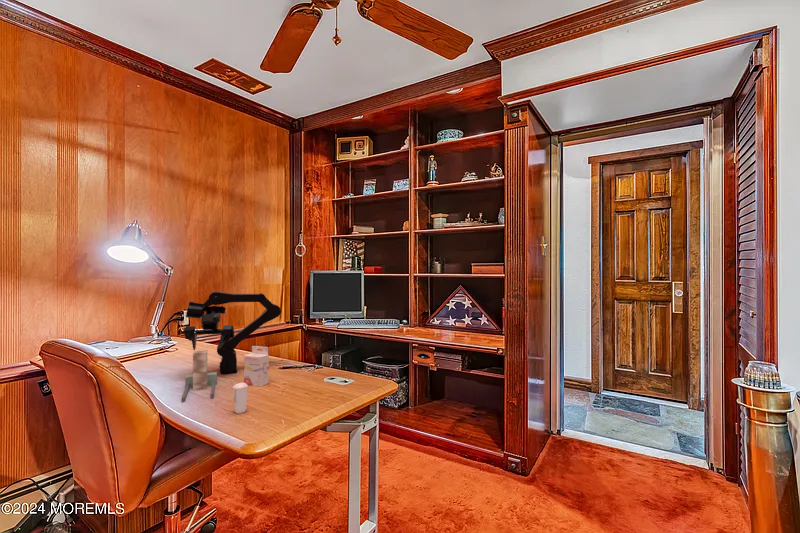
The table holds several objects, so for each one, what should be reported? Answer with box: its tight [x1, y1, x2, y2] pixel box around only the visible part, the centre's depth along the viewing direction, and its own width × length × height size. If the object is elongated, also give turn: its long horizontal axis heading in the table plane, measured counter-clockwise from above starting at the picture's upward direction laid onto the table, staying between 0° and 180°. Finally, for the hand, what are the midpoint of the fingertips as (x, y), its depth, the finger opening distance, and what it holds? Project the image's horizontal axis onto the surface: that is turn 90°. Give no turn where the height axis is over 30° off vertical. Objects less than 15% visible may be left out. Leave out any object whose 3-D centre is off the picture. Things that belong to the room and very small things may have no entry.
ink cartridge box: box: [243, 345, 270, 387], centre depth 156 cm, size 9×5×15 cm, turn 71°
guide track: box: [181, 371, 218, 403], centre depth 147 cm, size 11×22×4 cm, turn 24°
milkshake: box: [230, 380, 249, 415], centre depth 126 cm, size 4×5×10 cm
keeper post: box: [192, 349, 209, 391], centre depth 151 cm, size 4×4×14 cm
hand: (206, 349), depth 159 cm, fingers open, 9 cm apart
